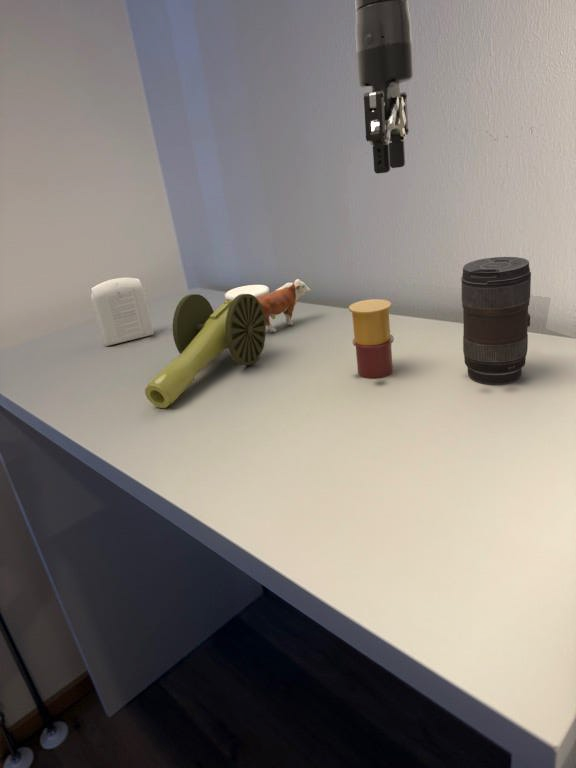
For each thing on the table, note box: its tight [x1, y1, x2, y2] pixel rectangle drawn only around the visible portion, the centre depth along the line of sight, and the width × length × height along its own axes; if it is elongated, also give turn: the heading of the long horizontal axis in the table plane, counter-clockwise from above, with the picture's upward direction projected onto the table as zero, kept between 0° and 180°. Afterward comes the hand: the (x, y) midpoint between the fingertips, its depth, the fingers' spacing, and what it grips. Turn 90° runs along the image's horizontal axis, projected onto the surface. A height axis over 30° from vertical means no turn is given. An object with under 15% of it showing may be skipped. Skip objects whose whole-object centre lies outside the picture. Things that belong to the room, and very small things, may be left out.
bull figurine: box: [256, 278, 311, 333], centre depth 102 cm, size 4×13×8 cm, turn 124°
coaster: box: [224, 284, 270, 301], centre depth 121 cm, size 10×10×4 cm
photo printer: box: [90, 277, 155, 347], centre depth 107 cm, size 10×4×12 cm, turn 116°
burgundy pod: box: [351, 333, 395, 379], centre depth 78 cm, size 6×6×5 cm
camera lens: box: [460, 256, 532, 385], centre depth 69 cm, size 8×8×15 cm
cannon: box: [144, 293, 267, 409], centre depth 84 cm, size 25×12×11 cm, turn 154°
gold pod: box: [348, 298, 392, 346], centre depth 76 cm, size 6×6×5 cm
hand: (390, 170), depth 81 cm, fingers open, 8 cm apart
